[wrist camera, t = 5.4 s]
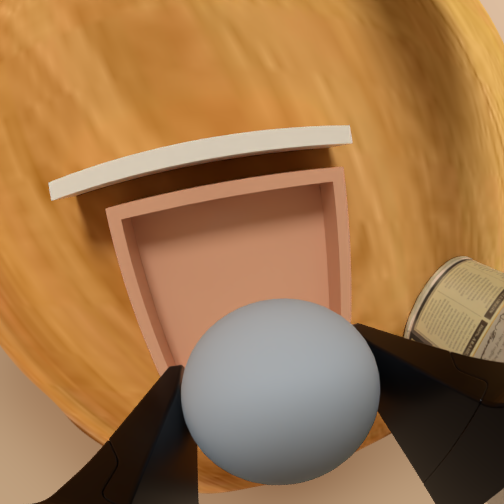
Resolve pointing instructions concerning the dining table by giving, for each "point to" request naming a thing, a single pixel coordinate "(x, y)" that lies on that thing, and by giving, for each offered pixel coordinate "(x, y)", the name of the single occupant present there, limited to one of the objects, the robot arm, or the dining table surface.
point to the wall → (198, 155)
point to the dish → (231, 252)
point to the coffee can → (461, 310)
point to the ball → (280, 391)
